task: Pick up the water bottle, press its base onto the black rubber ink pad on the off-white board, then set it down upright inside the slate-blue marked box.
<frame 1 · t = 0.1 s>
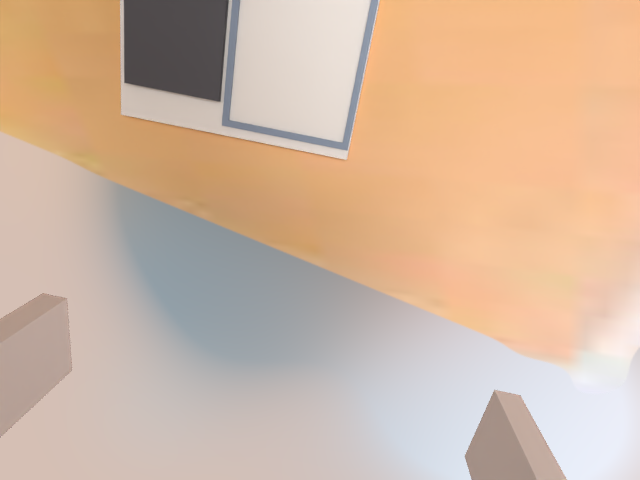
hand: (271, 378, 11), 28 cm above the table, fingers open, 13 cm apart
stamp station: (243, 53, 34), on the table
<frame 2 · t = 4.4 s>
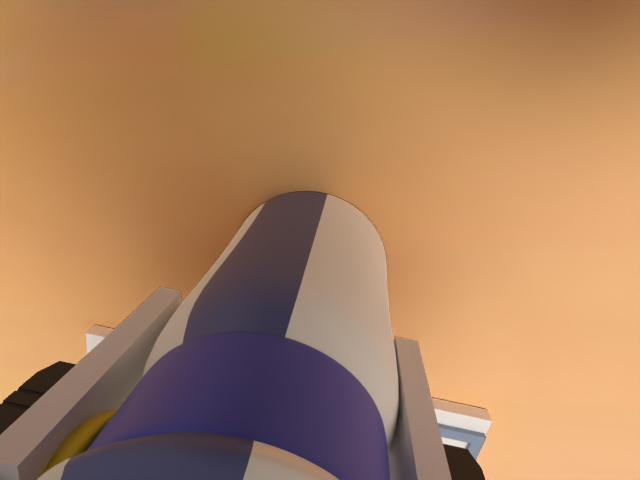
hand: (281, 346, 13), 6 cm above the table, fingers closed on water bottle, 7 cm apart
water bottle: (306, 270, 19), on the table, touching gripper
stamp station: (270, 461, 24), on the table
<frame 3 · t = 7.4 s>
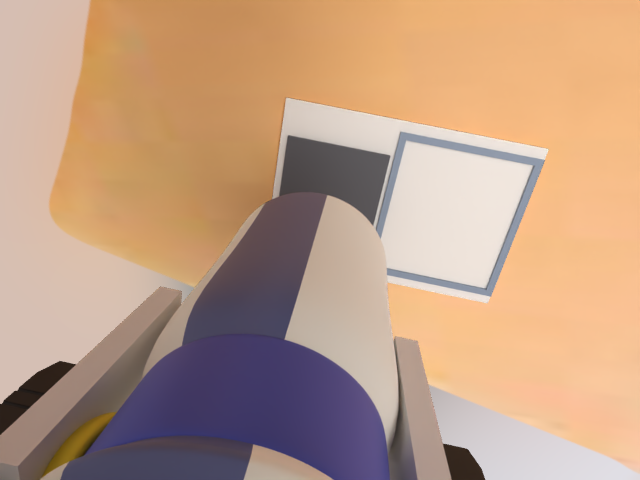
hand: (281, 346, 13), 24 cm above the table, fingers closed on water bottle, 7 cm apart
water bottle: (306, 270, 19), point 17 cm above the table, touching gripper
stamp station: (393, 205, 35), on the table
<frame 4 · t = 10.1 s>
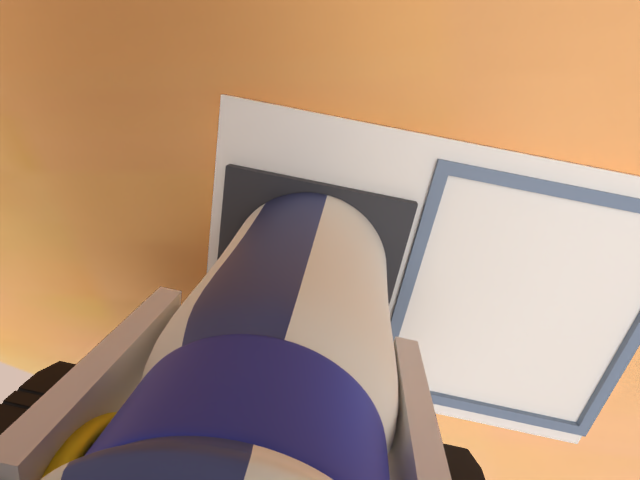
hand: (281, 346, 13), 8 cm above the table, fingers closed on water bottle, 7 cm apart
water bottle: (306, 271, 19), point 1 cm above the table, touching gripper, stamp station
stamp station: (418, 283, 20), on the table
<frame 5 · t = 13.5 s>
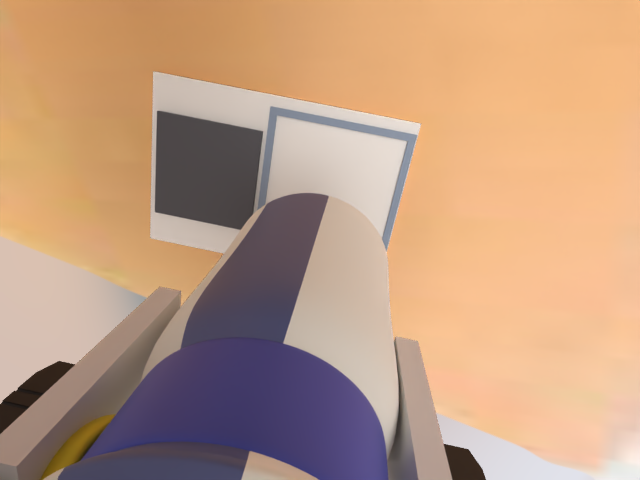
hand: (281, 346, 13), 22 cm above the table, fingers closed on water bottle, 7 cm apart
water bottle: (308, 271, 19), point 16 cm above the table, touching gripper
stamp station: (275, 184, 34), on the table
when the fingers open (8 cm above the table, at t = 16.3 s): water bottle moves 1 cm, resting on stamp station.
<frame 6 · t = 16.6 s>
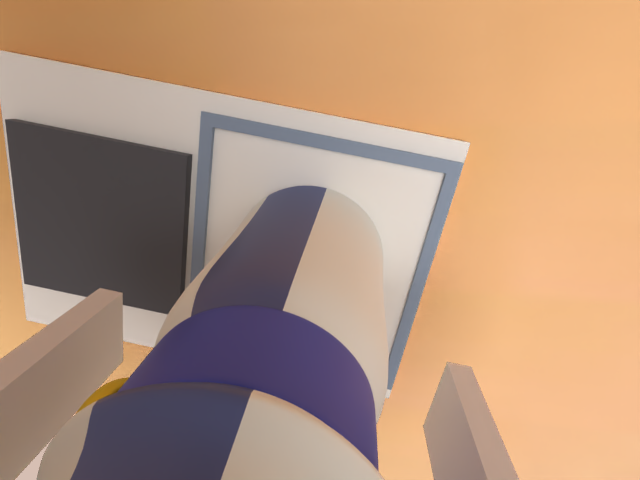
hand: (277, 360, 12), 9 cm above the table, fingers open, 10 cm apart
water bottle: (306, 261, 20), point 1 cm above the table, touching stamp station
stamp station: (220, 239, 20), on the table
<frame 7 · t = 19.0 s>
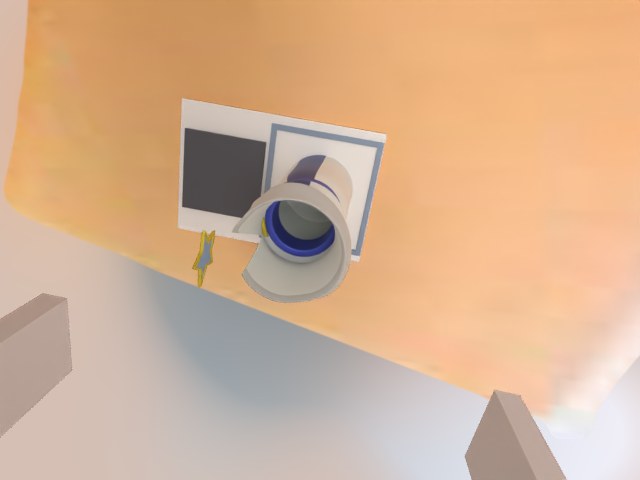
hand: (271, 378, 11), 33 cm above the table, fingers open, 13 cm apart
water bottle: (317, 191, 42), point 1 cm above the table, touching stamp station
stamp station: (276, 183, 43), on the table
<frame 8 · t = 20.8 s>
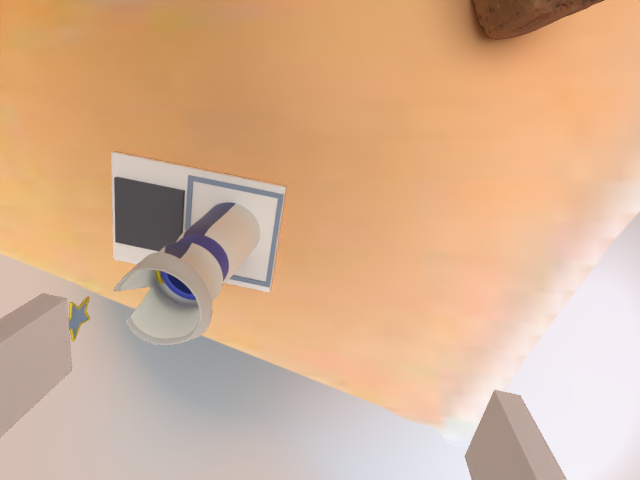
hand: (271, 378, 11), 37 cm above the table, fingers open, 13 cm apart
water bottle: (231, 232, 49), point 1 cm above the table, touching stamp station
stamp station: (196, 223, 50), on the table
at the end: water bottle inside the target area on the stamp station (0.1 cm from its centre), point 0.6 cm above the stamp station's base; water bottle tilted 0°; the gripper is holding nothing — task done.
